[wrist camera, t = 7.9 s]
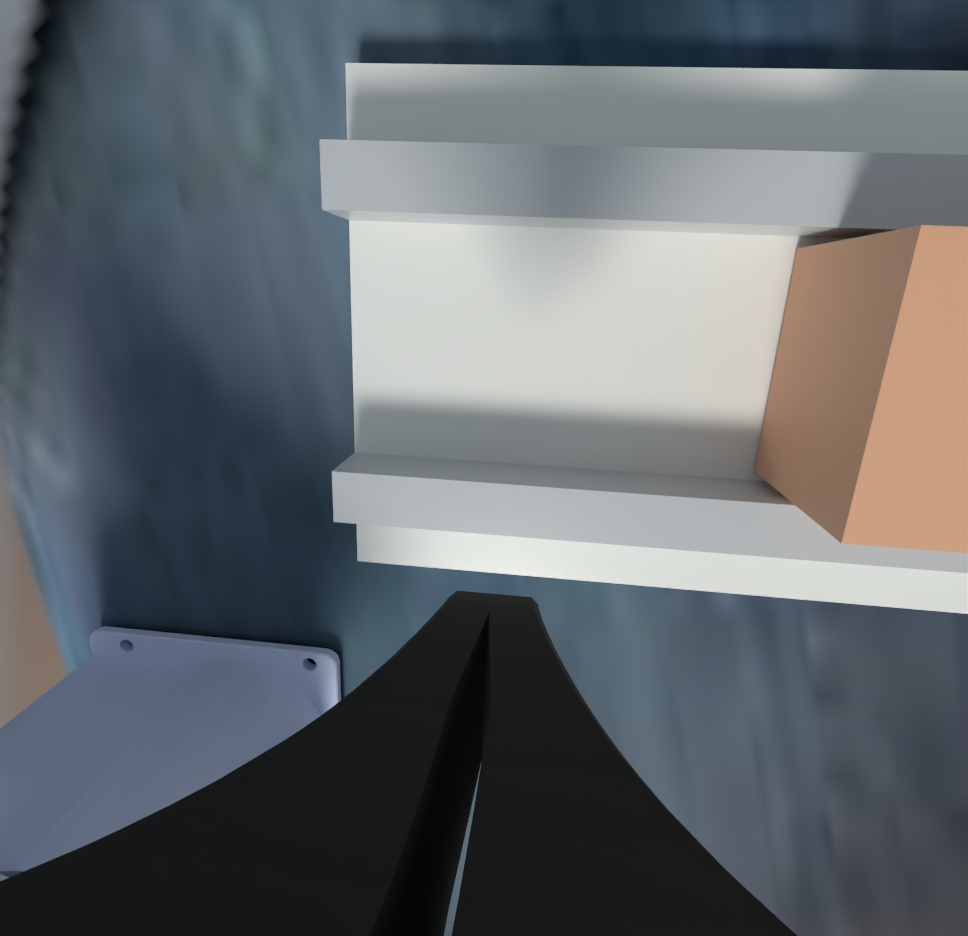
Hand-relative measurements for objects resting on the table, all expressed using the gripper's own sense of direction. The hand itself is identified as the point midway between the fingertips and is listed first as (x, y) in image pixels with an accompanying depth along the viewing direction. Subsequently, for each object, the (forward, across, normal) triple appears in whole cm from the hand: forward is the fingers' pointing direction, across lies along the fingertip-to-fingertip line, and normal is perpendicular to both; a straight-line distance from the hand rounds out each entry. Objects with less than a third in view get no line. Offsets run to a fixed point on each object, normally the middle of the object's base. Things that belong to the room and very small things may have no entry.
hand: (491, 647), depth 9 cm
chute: (+9, -5, -4) cm, 11 cm away
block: (+8, -9, -4) cm, 13 cm away
